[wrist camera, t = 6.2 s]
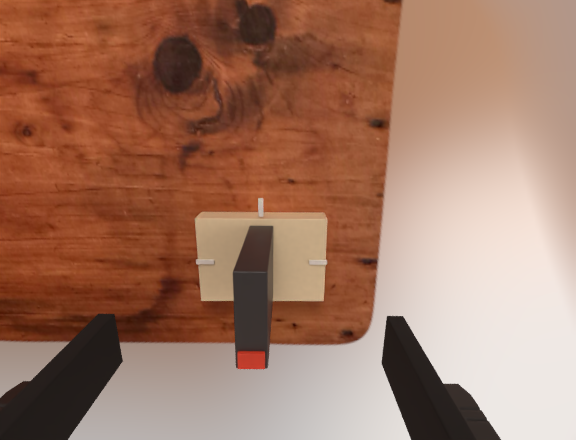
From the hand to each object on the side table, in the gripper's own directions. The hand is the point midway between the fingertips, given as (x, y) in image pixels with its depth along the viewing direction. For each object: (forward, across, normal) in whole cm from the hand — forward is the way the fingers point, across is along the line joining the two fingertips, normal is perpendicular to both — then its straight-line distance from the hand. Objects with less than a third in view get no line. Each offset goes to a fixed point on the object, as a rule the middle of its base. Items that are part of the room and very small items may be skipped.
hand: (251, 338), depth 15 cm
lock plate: (+12, 0, 0) cm, 12 cm away
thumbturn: (+10, 0, 0) cm, 10 cm away
